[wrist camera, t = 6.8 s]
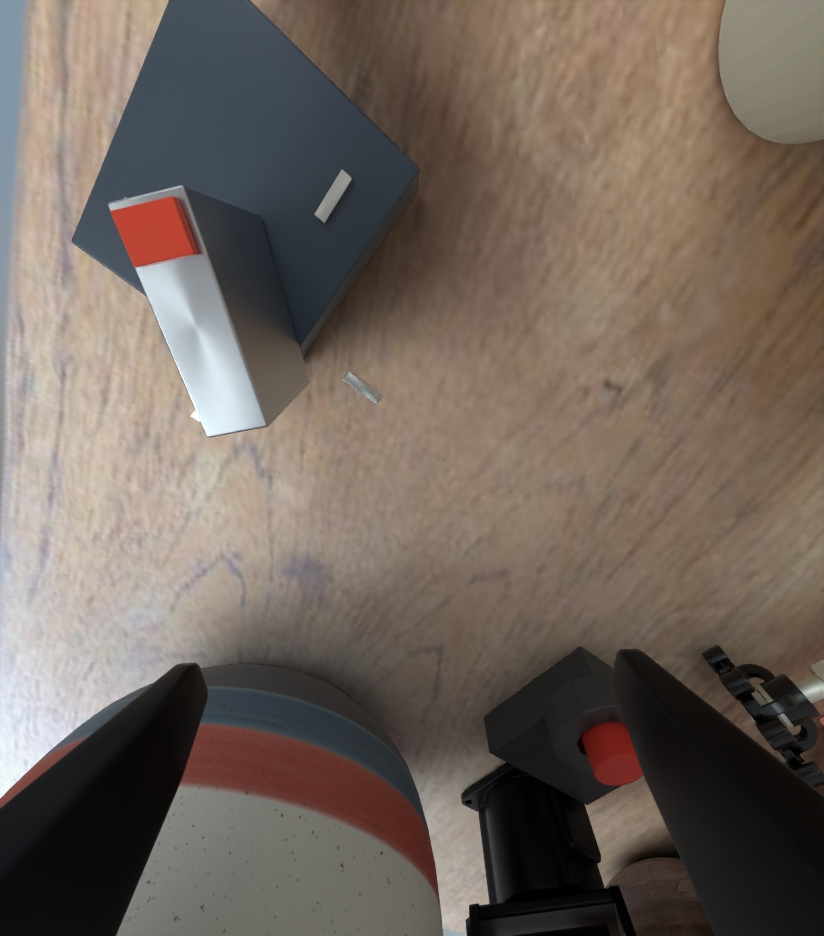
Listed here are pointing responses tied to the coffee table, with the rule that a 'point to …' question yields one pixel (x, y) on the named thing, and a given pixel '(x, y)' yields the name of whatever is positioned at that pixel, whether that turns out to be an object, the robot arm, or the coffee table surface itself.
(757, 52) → the ice cream cone
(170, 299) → the tap handle
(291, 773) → the planter
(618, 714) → the button box
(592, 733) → the button
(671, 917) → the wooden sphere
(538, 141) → the coffee table surface
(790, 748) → the valve
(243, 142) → the lever base
